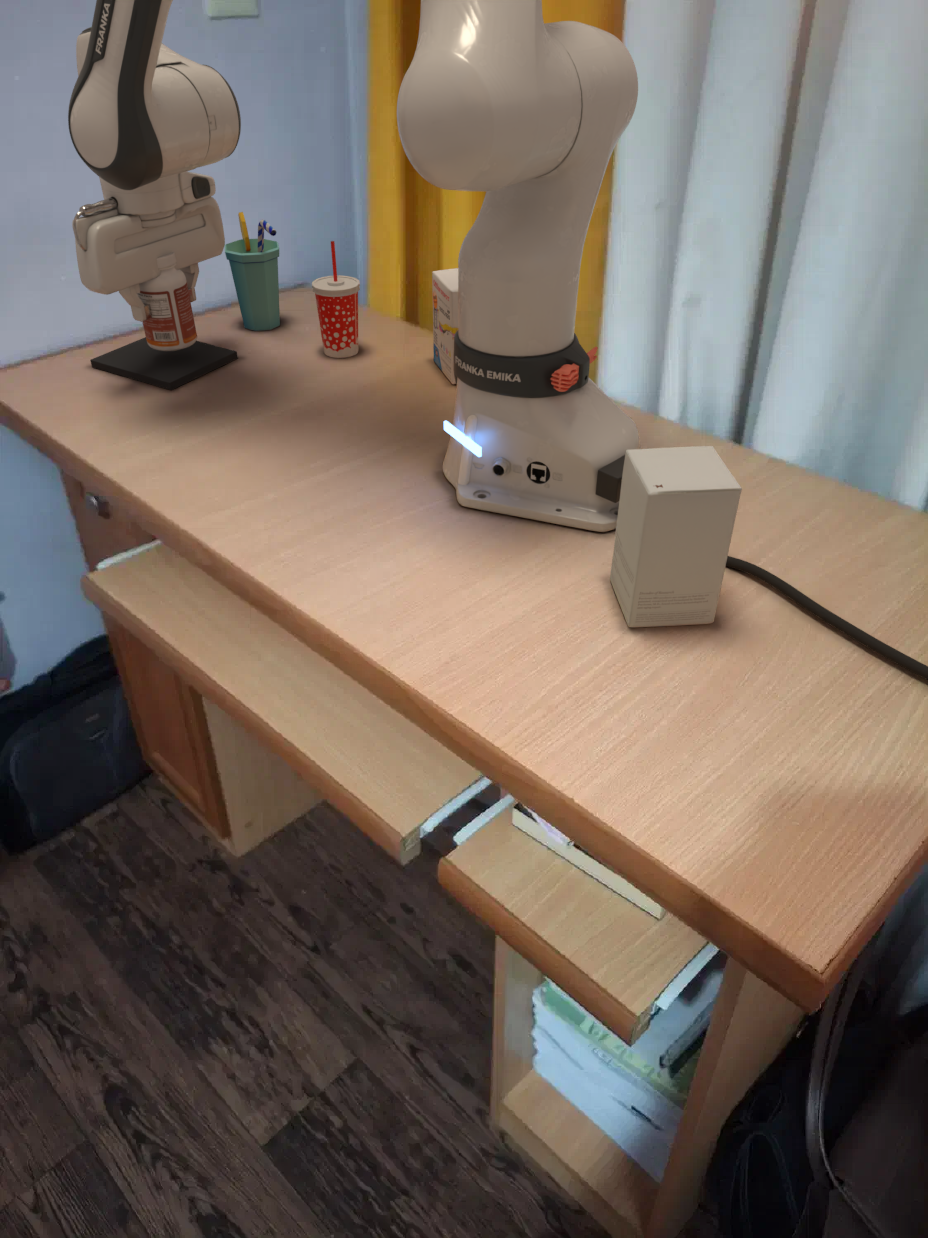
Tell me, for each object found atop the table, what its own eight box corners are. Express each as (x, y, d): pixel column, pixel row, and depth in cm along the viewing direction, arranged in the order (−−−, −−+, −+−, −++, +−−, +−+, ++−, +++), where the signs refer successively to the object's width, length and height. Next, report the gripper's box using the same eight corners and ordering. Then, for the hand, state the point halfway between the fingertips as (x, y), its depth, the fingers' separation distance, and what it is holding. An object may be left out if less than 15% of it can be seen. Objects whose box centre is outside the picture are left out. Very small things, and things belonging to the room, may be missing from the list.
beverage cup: (334, 339, 125) (325, 232, 116) (373, 347, 122) (366, 238, 114) (309, 354, 120) (297, 244, 112) (348, 363, 118) (339, 250, 110)
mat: (238, 358, 119) (237, 350, 119) (171, 390, 111) (169, 382, 110) (161, 337, 125) (159, 330, 124) (91, 367, 117) (89, 359, 116)
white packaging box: (715, 625, 74) (745, 488, 67) (626, 629, 74) (645, 492, 66) (690, 574, 80) (715, 443, 73) (607, 577, 80) (623, 446, 72)
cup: (312, 335, 126) (300, 220, 117) (260, 346, 122) (244, 229, 113) (268, 306, 135) (255, 198, 126) (219, 317, 132) (201, 205, 122)
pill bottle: (184, 330, 119) (167, 242, 112) (206, 344, 115) (190, 253, 108) (139, 342, 116) (119, 251, 109) (160, 356, 112) (140, 263, 105)
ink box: (431, 360, 119) (430, 268, 112) (492, 352, 121) (495, 261, 114) (451, 385, 112) (451, 289, 105) (515, 377, 115) (519, 282, 107)
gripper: (89, 212, 96) (119, 341, 105) (224, 176, 110) (240, 292, 118) (49, 204, 99) (81, 330, 107) (186, 170, 113) (204, 283, 121)
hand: (166, 310), depth 113 cm, fingers closed on pill bottle, 6 cm apart
